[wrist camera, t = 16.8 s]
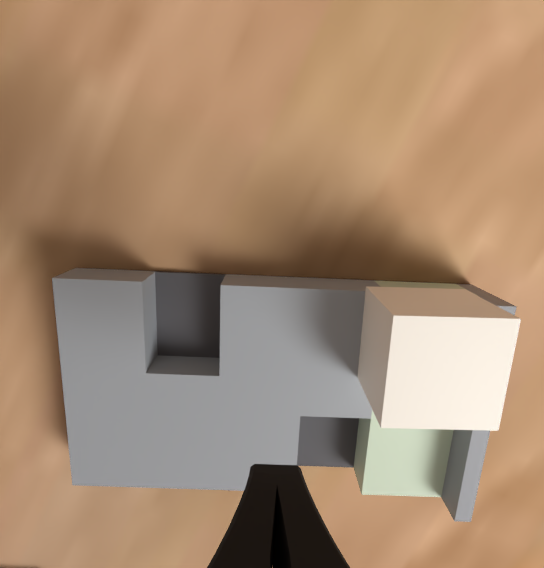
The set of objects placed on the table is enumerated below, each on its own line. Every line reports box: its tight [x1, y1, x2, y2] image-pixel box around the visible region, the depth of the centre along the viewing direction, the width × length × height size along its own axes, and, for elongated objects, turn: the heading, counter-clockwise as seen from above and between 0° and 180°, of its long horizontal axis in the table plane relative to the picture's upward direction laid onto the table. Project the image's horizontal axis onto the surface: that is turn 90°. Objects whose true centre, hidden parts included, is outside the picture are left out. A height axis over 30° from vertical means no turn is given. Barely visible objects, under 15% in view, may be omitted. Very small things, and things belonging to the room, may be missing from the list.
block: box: [357, 286, 521, 431], centre depth 16 cm, size 4×4×4 cm
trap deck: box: [52, 268, 516, 522], centre depth 19 cm, size 20×11×4 cm, turn 87°
